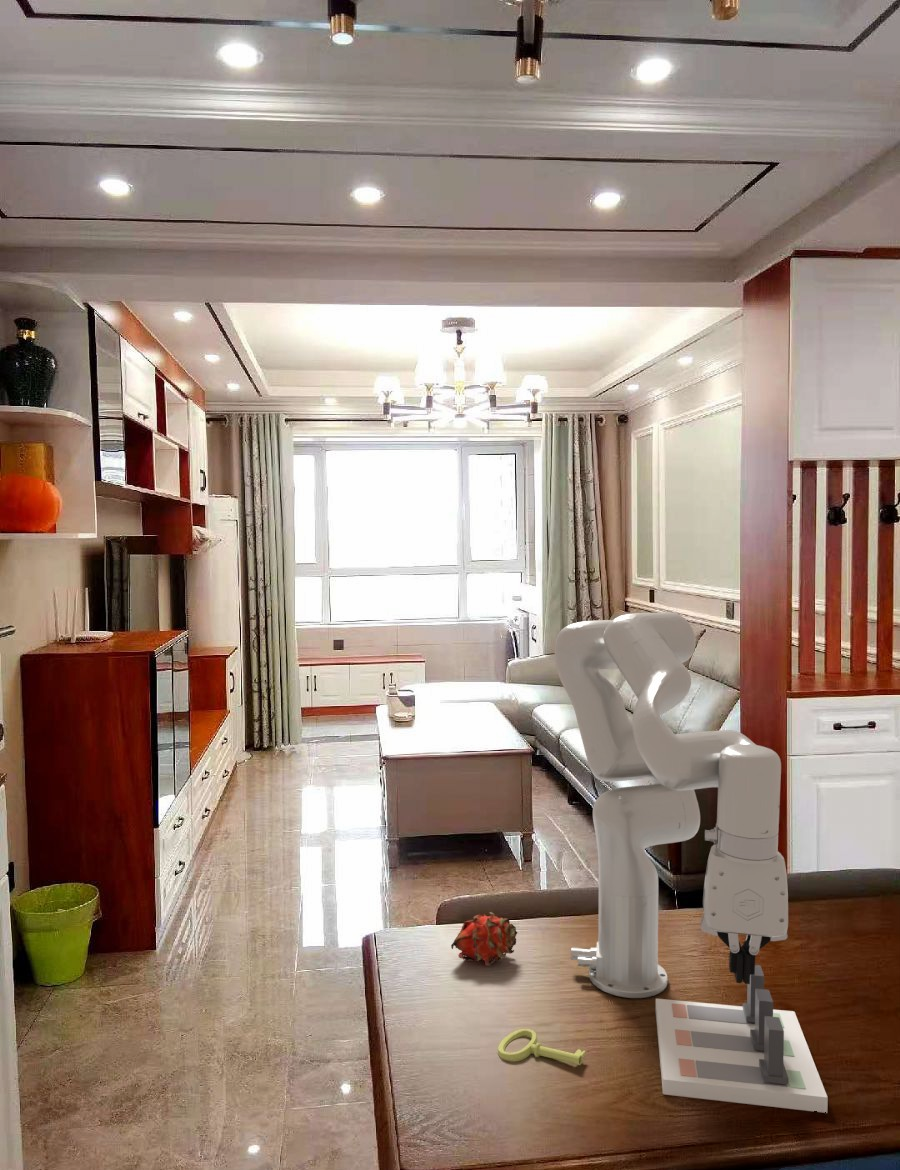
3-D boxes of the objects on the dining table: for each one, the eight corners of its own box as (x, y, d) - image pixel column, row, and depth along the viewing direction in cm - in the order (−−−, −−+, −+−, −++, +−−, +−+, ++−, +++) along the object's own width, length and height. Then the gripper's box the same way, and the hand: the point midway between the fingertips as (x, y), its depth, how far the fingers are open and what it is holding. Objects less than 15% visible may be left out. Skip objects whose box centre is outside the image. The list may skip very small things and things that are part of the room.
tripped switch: (763, 1081, 109) (764, 1029, 109) (758, 1064, 113) (759, 1014, 112) (788, 1084, 109) (789, 1032, 108) (782, 1067, 112) (783, 1016, 112)
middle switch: (754, 1049, 116) (754, 1001, 116) (750, 1034, 120) (750, 987, 119) (777, 1052, 116) (778, 1003, 115) (772, 1037, 119) (773, 989, 119)
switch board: (662, 1094, 110) (663, 1078, 110) (655, 1011, 130) (655, 997, 130) (827, 1112, 107) (827, 1096, 107) (794, 1024, 126) (794, 1010, 126)
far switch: (746, 1021, 123) (746, 975, 123) (742, 1008, 126) (743, 963, 126) (768, 1023, 122) (768, 977, 122) (763, 1010, 126) (764, 965, 126)
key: (584, 1074, 115) (584, 1059, 115) (494, 1062, 118) (494, 1047, 118) (588, 1044, 122) (588, 1029, 122) (503, 1033, 125) (503, 1019, 125)
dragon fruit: (523, 966, 147) (457, 985, 144) (507, 921, 154) (443, 939, 151) (528, 941, 142) (459, 961, 139) (510, 896, 148) (444, 914, 145)
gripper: (689, 848, 108) (684, 987, 109) (814, 858, 105) (808, 1000, 107) (684, 827, 115) (680, 957, 117) (801, 835, 112) (795, 969, 114)
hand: (741, 977), depth 112 cm, fingers closed
